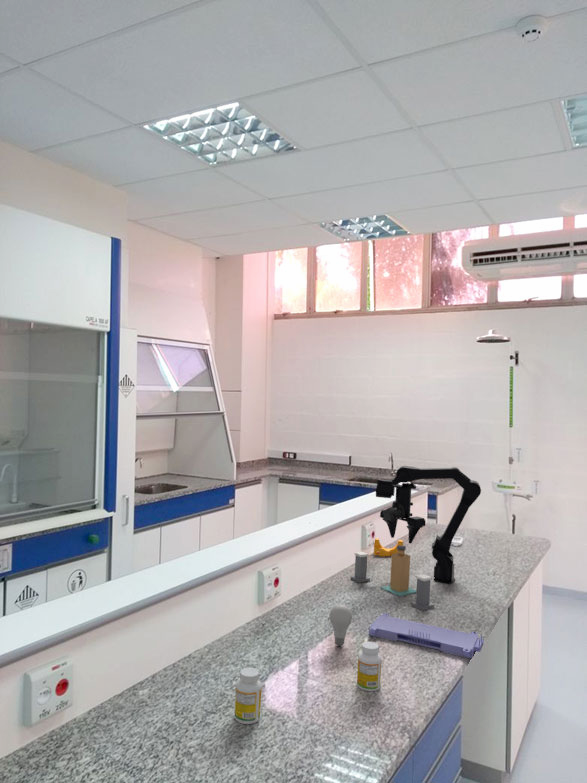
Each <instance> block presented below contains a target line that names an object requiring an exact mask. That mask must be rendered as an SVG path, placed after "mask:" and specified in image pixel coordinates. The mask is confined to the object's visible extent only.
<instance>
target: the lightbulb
mask: <svg viewBox="0 0 587 783" xmlns="http://www.w3.org/2000/svg"><path fill="white" fill-rule="evenodd" d="M328 616H329V621H330V624H331V625H332V628H333V636H334V644H335V645H337V646H338V647H342V646H344V644H345V639H346V636H347V631H348V628H349V627H350V625H351V623H352V620H353V612H352V611H351V609H350V608H349V607H348V606H346V605H344V604H337V605H335V606H333V607H331V610H330V612H329V615H328Z"/></svg>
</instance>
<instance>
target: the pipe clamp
mask: <svg viewBox="0 0 587 783" xmlns="http://www.w3.org/2000/svg"><path fill="white" fill-rule="evenodd" d="M375 538H376V539H375V543H374V542H373V556H374V555H379V556H378V557H385V556H389V557H388V558H390V557H392V554H395V553H398V549H397V546H398V545H403V546H404V540H403V539H398V540H397V543H396V545H395V546H393V547H392V548H388V547H387V548H386V547H384V546H383V545H382V544H381V542H380V538H377V537H375Z"/></svg>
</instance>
